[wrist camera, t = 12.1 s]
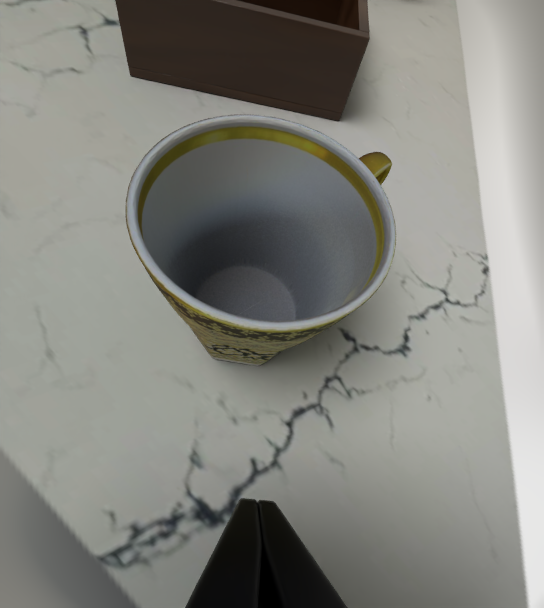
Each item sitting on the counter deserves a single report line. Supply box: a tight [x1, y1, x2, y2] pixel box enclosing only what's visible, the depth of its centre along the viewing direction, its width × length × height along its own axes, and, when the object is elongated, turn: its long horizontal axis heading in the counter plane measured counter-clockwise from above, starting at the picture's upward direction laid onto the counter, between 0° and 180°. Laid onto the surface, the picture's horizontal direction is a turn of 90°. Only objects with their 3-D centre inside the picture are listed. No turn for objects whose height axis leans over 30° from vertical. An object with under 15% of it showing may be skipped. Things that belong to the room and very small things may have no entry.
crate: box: [115, 0, 370, 121], centre depth 31 cm, size 16×19×7 cm
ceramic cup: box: [126, 115, 396, 366], centre depth 18 cm, size 13×10×10 cm
